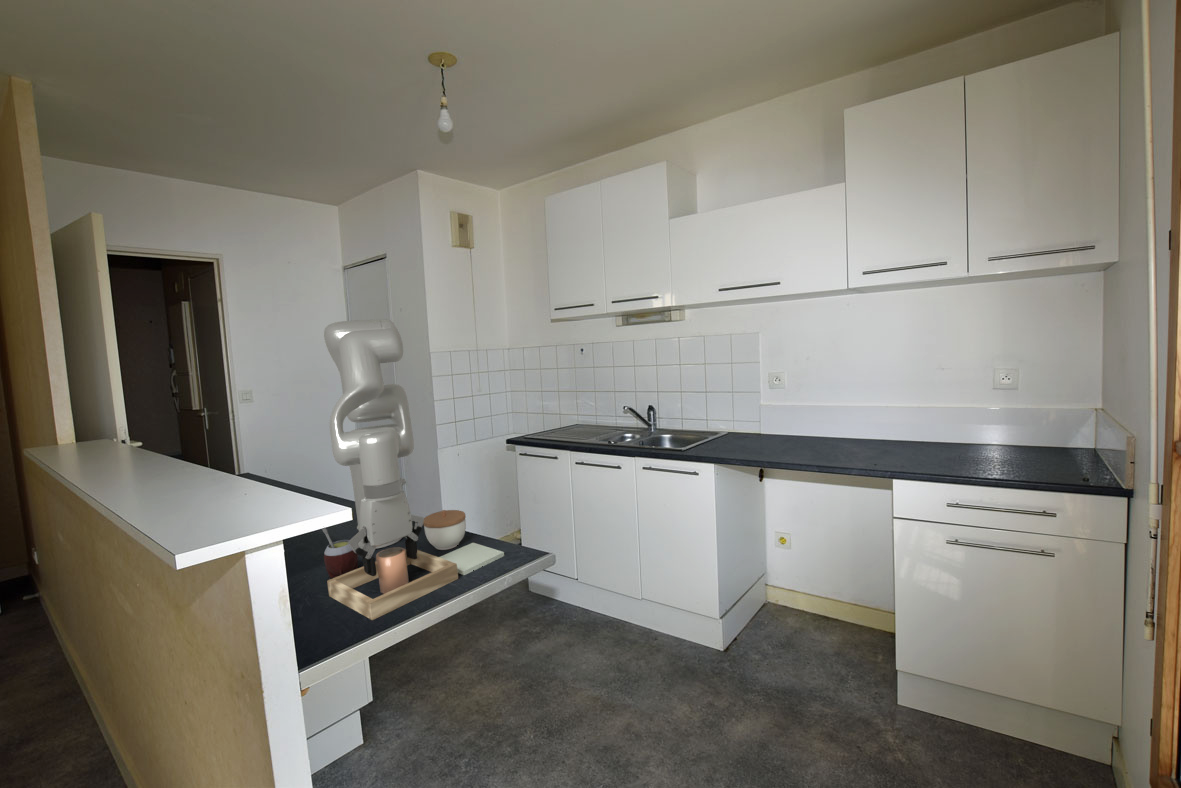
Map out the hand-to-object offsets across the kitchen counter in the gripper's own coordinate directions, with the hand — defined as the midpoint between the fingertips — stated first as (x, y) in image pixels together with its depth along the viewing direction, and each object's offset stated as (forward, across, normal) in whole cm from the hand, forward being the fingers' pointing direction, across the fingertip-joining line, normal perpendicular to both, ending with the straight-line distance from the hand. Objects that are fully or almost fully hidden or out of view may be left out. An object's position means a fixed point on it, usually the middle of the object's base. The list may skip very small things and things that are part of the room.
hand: (392, 566), depth 117 cm
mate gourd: (+5, +4, -17) cm, 18 cm away
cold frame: (+5, 0, -1) cm, 5 cm away
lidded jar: (+5, -21, -11) cm, 24 cm away
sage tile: (+5, -18, +2) cm, 19 cm away
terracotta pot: (+5, 0, -1) cm, 5 cm away
